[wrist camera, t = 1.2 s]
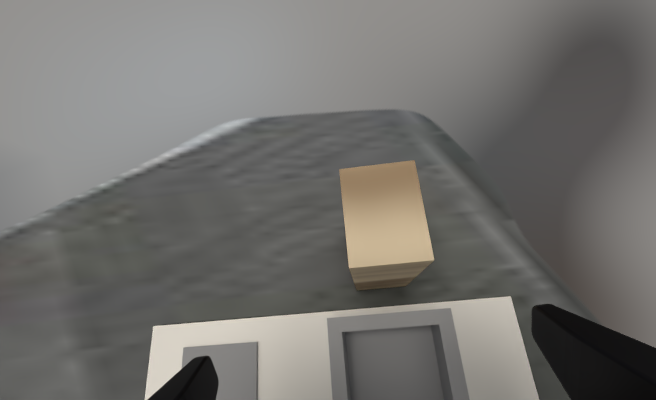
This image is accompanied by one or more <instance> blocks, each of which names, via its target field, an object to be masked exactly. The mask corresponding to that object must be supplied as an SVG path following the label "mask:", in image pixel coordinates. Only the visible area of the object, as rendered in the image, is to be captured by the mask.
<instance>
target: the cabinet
mask: <svg viewBox="0 0 656 400" xmlns="http://www.w3.org/2000/svg"><path fill="white" fill-rule="evenodd" d="M200 356H210V358H211V359H212V362H213V365H214V367H215V370H216V373H217V376H218V380H219V386H218V391H217V396H216V400H539V397H538V394H537V390H536V386H535V383H534V379H533V376H532V372H531V368H530V365H529V361H528V357H527V354H526V350H525V347H524V343H523V339H522V336H521V332H520V328H519V325H518V321H517V317H516V314H515V310H514V307H513V303H512V299H511V296H509V297H497V298H485V299H473V300H461V301H449V302H437V303H425V304H413V305H401V306H389V307H377V308H365V309H353V310H341V311H329V312H317V313H306V314H294V315H282V316H270V317H258V318H246V319H234V320H222V321H210V322H198V323H186V324H174V325H162V326H153V334H152V342H151V351H150V359H149V368H148V376H147V384H146V393H145V400H147V399H149V398H150V397H151V396H152V395H153V394H154V393H155V392H156V391H158V390H159V389H160V388H161V387H162V386H163V385H164V384H165V383H166V382H168V381H169V380H170V379H171V378H172V377H173V376H174V375H175V374H176V373H178V372H179V371H180V370H181V369H182V368H183V367H184V366H185V365H187V364H188V363H189V362H190V361H191V360H192V359H193V358H195V357H200Z"/></svg>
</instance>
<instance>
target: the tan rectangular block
mask: <svg viewBox="0 0 656 400" xmlns="http://www.w3.org/2000/svg"><path fill="white" fill-rule="evenodd" d="M339 171H340V181H341V192H342V202H343V212H344V222H345V232H346V242H347V253H348V263H349V270H350V273H351V275H352V278H353V281H354V284H355V287H356V290H357V291H358V290H369V289H380V288H392V287H403V286H407V285H408V284H409V283H410V282H411V281H412V280H413V279H414V278H415V277H416V276H418V275H419V274H420V273H421V272H422V271H423V270H424V269H425V268H426V267H427V266H429V265H430V264H431V263H432V262H433V261H434V256H433V251H432V246H431V241H430V236H429V231H428V226H427V221H426V216H425V211H424V206H423V200H422V195H421V190H420V185H419V180H418V175H417V170H416V165H415V160H413V161H404V162H396V163H388V164H379V165H371V166H363V167H354V168H346V169H339Z"/></svg>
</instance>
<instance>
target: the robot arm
mask: <svg viewBox="0 0 656 400" xmlns="http://www.w3.org/2000/svg"><path fill="white" fill-rule="evenodd" d="M532 335H533V338H534V340H535V342H536V343H537V345H538V347H539V348H540V350H541V352H542V353H543V355H544V357H545V358H546V360H547V361H548V363H549V365H550V366H551V368H552V370H553V371H554V373H555V375H556V376H557V378H558V379H559V381H560V383H561V384H562V386H563V388H564V389H565V391H566V392H567V394H568V395H569V397H570V398H571V400H656V348H654V347H652V346H649V345H647V344H645V343H642V342H640V341H638V340H635V339H633V338H630V337H628V336H625V335H623V334H621V333H619V332H616V331H613V330H611V329H609V328H606V327H604V326H602V325H599V324H597V323H595V322H592V321H590V320H587V319H585V318H583V317H580V316H578V315H575V314H573V313H571V312H568V311H566V310H564V309H561V308H559V307H556V306H554V305H551V304H542V305H536V306H534V307H533V308H532ZM218 386H219V380H218V376H217V373H216V370H215V367H214V365H213V362H212V359H211V358H210V356H200V357H195V358H193V359H192V360H191V361H190V362H189V363H188V364H187V365H185V366H184V367H183V368H182V369H181V370H180V371H179V372H178V373H176V374H175V375H174V376H173V377H172V378H171V379H170V380H169V381H168V382H166V383H165V384H164V385H163V386H162V387H161V388H160V389H159V390H158V391H156V392H155V393H154V394H153V395H152V396H151V397H150V398H149V399H147V400H216V396H217V391H218Z"/></svg>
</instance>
